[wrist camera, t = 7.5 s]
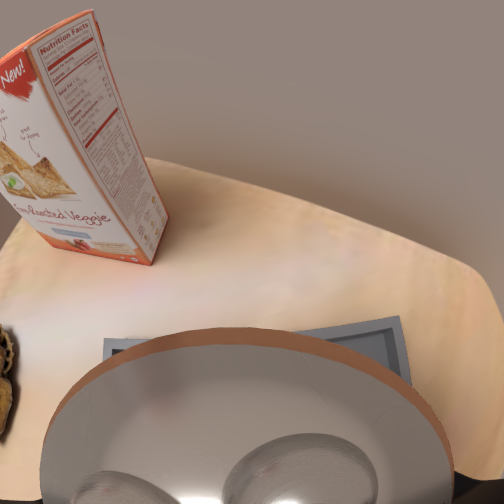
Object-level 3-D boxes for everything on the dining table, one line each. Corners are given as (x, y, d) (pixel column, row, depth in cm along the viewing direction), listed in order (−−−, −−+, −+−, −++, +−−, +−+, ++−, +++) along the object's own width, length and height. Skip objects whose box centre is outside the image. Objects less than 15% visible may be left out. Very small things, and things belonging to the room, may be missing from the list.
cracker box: (52, 251, 25) (-58, 114, 6) (73, 208, 28) (-11, 68, 9) (152, 272, 23) (18, 42, 5) (172, 217, 26) (97, 2, 8)
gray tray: (402, 465, 14) (417, 471, 11) (125, 485, 14) (111, 492, 11) (385, 324, 20) (398, 315, 18) (118, 345, 20) (104, 338, 18)
